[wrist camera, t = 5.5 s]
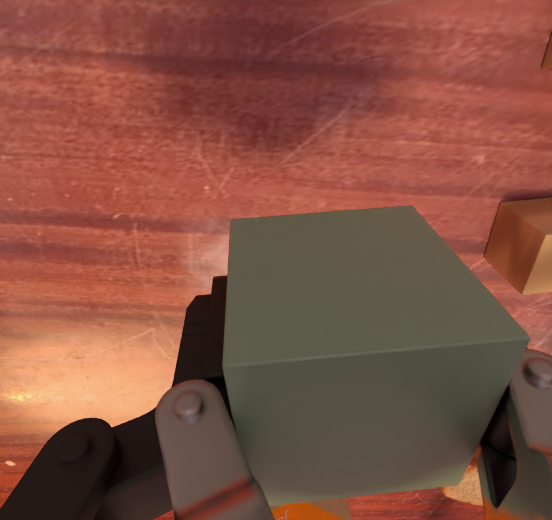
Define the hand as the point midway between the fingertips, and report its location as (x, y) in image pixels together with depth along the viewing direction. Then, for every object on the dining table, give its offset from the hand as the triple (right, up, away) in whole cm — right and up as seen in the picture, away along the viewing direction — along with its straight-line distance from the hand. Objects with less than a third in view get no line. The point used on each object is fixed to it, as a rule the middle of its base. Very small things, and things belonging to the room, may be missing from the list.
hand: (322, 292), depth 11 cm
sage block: (0, 0, 0) cm, 0 cm away
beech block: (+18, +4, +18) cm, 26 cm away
